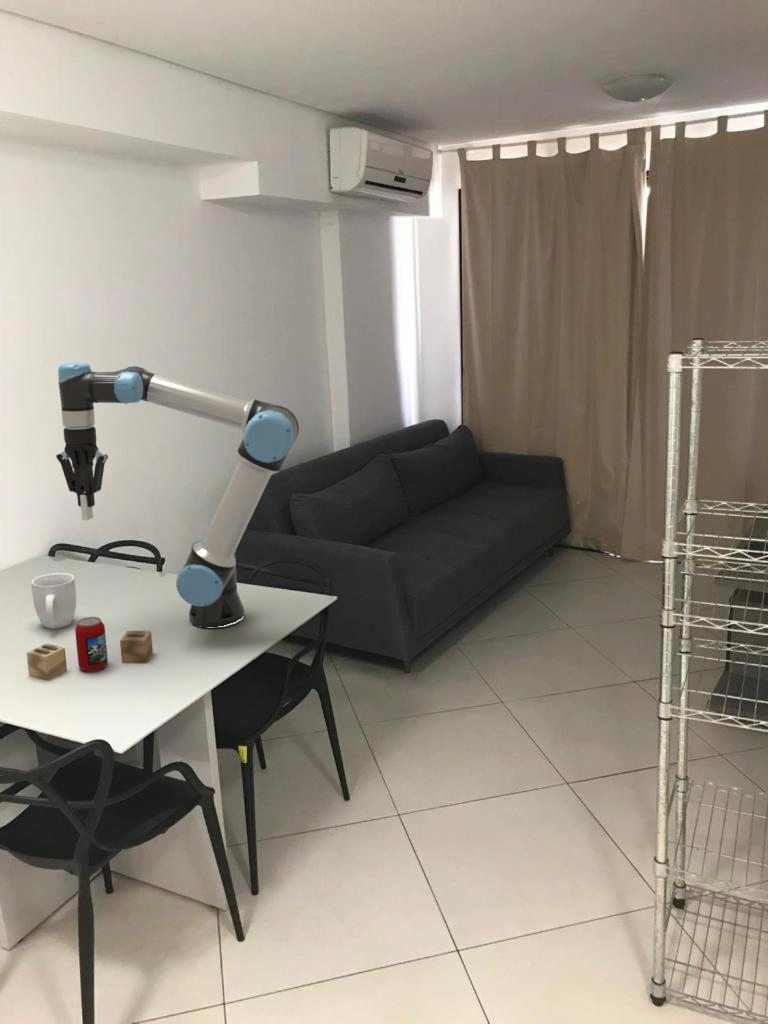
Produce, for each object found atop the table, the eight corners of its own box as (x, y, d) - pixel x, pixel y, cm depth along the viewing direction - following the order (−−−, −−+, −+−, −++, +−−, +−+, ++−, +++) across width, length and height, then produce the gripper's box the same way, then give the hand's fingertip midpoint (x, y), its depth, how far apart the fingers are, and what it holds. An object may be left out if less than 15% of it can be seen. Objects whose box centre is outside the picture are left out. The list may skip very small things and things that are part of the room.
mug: (74, 635, 221) (69, 589, 218) (30, 639, 218) (24, 592, 215) (81, 615, 235) (76, 571, 232) (39, 618, 233) (34, 574, 229)
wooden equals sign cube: (67, 670, 201) (64, 646, 199) (47, 680, 196) (45, 656, 194) (48, 666, 203) (46, 642, 202) (29, 675, 198) (26, 651, 196)
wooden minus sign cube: (152, 652, 211) (151, 629, 209) (146, 663, 205) (144, 639, 203) (129, 652, 211) (127, 629, 209) (121, 663, 205) (119, 639, 203)
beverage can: (99, 674, 199) (94, 627, 196) (73, 671, 200) (68, 625, 197) (113, 662, 205) (109, 616, 202) (88, 660, 206) (84, 614, 203)
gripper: (111, 425, 208) (118, 516, 214) (63, 423, 211) (72, 513, 217) (95, 429, 201) (104, 524, 207) (46, 428, 203) (56, 521, 209)
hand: (87, 518), depth 212 cm, fingers closed
